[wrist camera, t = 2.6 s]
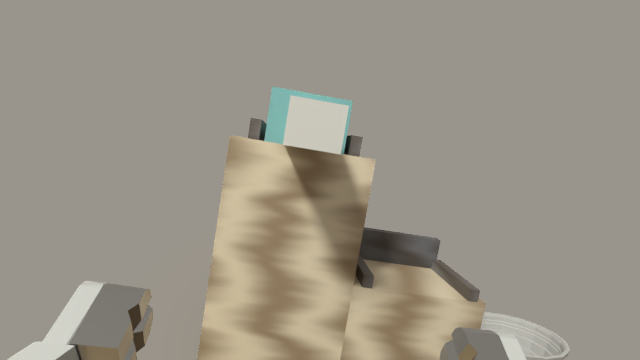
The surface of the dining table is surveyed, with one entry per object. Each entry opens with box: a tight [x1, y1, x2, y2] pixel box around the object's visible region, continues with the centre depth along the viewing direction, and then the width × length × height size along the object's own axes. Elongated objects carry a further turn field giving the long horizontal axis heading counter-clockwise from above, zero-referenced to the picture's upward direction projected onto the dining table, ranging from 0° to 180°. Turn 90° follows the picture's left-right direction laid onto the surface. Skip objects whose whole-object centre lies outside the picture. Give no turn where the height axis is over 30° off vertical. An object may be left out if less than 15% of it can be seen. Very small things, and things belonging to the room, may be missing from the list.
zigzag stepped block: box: [197, 118, 486, 360], centre depth 34 cm, size 22×9×30 cm, turn 95°
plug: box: [264, 87, 353, 154], centre depth 28 cm, size 6×17×4 cm, turn 5°
